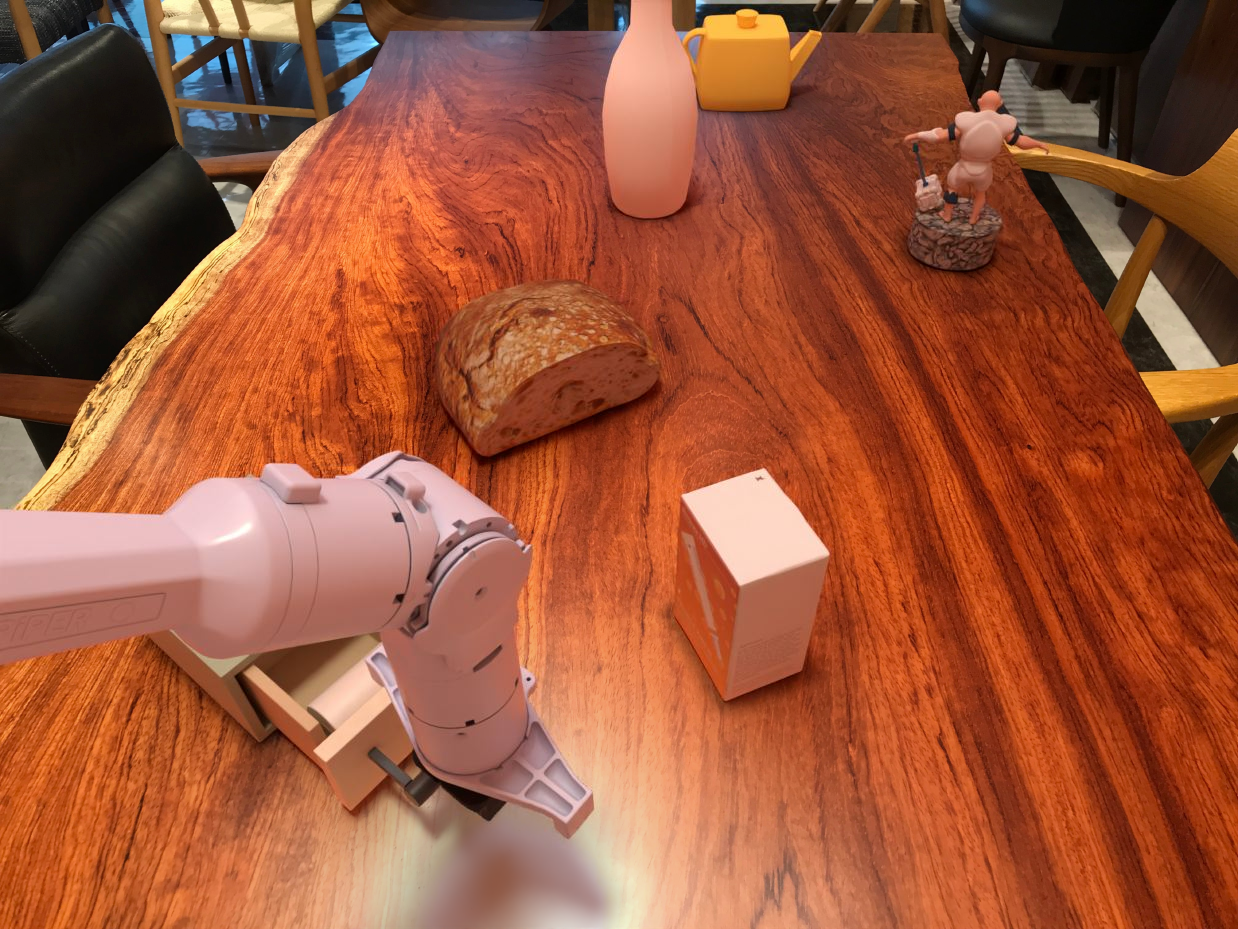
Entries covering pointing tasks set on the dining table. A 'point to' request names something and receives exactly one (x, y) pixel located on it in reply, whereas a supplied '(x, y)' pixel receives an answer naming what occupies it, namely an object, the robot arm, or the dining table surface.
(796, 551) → the small box
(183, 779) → the dining table surface
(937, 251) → the figurine
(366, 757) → the drawer
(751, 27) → the teapot
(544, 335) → the bread
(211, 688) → the cabinet
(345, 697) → the paper towel roll
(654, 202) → the bottle
